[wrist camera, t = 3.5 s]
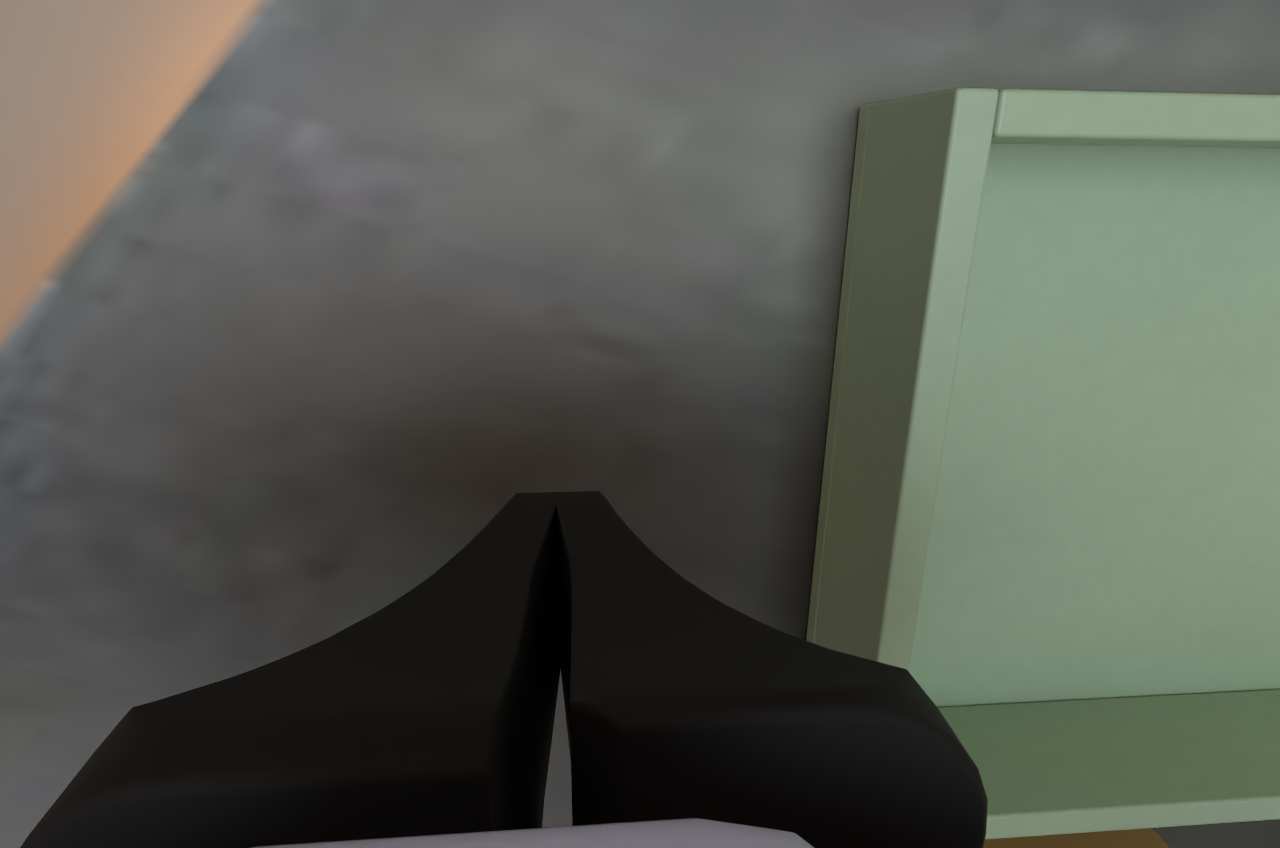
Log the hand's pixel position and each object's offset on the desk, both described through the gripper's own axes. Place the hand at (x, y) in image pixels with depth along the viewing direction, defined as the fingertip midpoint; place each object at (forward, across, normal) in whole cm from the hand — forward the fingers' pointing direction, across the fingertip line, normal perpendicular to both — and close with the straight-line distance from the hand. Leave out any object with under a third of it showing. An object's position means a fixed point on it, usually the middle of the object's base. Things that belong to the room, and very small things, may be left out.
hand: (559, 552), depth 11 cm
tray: (+4, -14, 0) cm, 14 cm away
